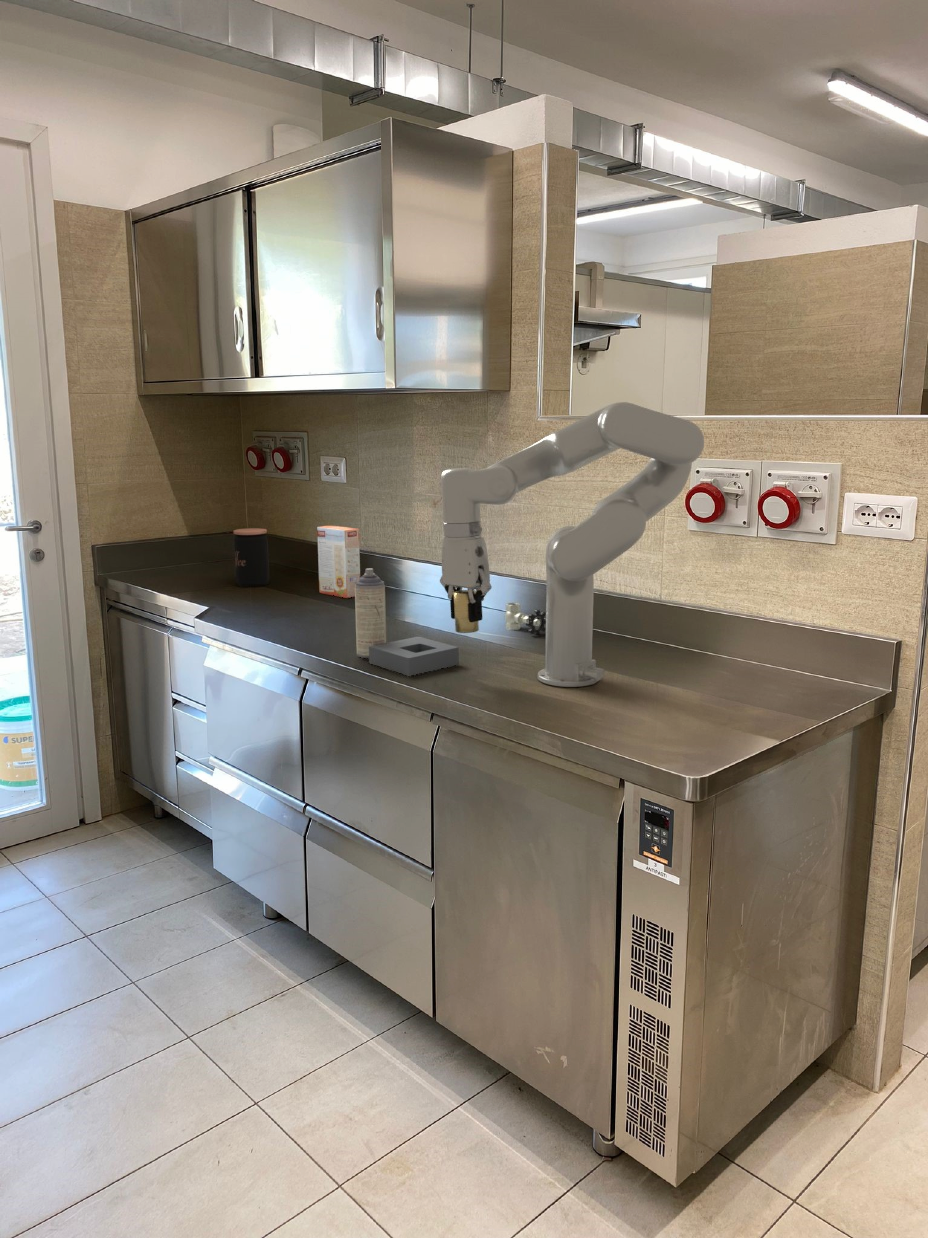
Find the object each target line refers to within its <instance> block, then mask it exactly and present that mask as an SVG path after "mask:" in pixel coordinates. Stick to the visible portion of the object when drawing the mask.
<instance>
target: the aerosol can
mask: <svg viewBox="0 0 928 1238" xmlns="http://www.w3.org/2000/svg"><path fill="white" fill-rule="evenodd" d="M355 584H356V585H355V597H354V603H355V604H354V605H355V608H354V609H355V634H356V636H355V638H356V639H355V641H356V643H355V644H356V657H357V656H359V657H361V658H360V659H363V658H369V646H374V645H378V644H383V643H387V623H386V621H387V620H386V619H387V617H386V615H387V613H386V586H385V581H384V580H381V577H379V576H378V575H377V574H376V573H374V568H371V567H370V568H365V571H364V574H363V575H362V576H360V579H359V581H357V582H355ZM359 657H358V658H359Z"/></svg>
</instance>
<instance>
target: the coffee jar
mask: <svg viewBox="0 0 928 1238" xmlns="http://www.w3.org/2000/svg"><path fill="white" fill-rule="evenodd" d="M267 533H268V530H267V529H266V528H256V527H255V528H254V527H253V528H251V527H249V528H238V529H234V530H233V533H232V534H233V535H234V537H233V551H234V552H233V553H234V564H235V565H234V567H235V568H234V569H235V582H236V584H237V586H238V587H240V586H242V587H241V588H248V587H251V588H262V587H265V586H268V585H269V582H270V566H269V565H270V561H269V543H268V536H267V535H266V534H267ZM267 584H268V585H267ZM261 586H262V587H261Z"/></svg>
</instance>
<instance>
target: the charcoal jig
mask: <svg viewBox="0 0 928 1238" xmlns="http://www.w3.org/2000/svg"><path fill="white" fill-rule="evenodd" d="M459 651H460V648H459V646H455V645H451V644H450V643H449V644H448V643H444V642H441V641H438V640H437V641H436V640H433V639H429V638H426V637H422V636H413V637H409V638H405V639H404V638H403V639H399V640H395V641H390V642H386V643H383V644H378V645H374V646H369V659H368V662H369V663H370V664H369V665H371V664H374V665H378V666H380V667H383V668H387V669H389V670H388V671H390V670H393V671H397V672H399V673H402V674H404V675H403V676H405V675H408V676H410V675H414V676H417V675H416V674H418V673H422V674H425V673H424V672H427V673H429V672H428V671H431V672H434V671H433V670H435V671H439V670H442V669H441V668H444V669H447V667H448V668H451V667H455V666H454V665H456V666H460V664H459V663H460V655H459V653H460V652H459ZM374 665H373V666H374ZM380 667H379V668H380ZM383 668H382V669H383ZM438 669H439V670H438ZM393 671H392V672H393ZM399 673H398V674H399ZM402 674H401V675H402ZM418 675H419V674H418ZM408 676H407V677H408ZM410 677H411V676H410Z"/></svg>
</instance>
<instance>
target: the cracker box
mask: <svg viewBox="0 0 928 1238" xmlns="http://www.w3.org/2000/svg"><path fill="white" fill-rule="evenodd" d="M316 530H317V531H316V533H317V555H318V556H317V558H318V559H317V561H318V564H317V565H318V589H319V590H318V591H319V594H323V595H330V596H333V595H334V596H335V597H339V598H342V597H343V598H344V599H351V597H352V598H355V585H356V584H355V582H357V581H359V579H360V578H361V563H360V562H361V560H360V559H361V557H360V555H361V554H360V529H359V528H354V527H346V526H338V525H323V526H317V529H316ZM334 596H333V597H334Z"/></svg>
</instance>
